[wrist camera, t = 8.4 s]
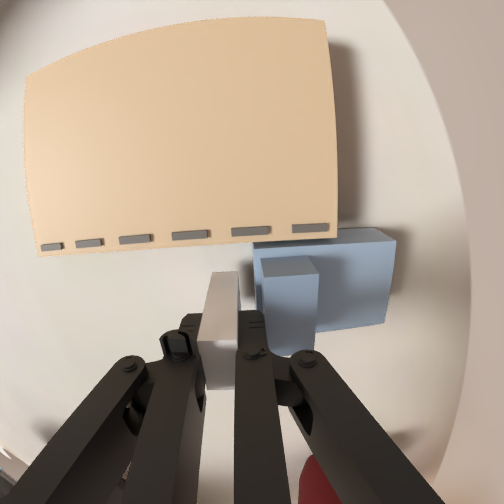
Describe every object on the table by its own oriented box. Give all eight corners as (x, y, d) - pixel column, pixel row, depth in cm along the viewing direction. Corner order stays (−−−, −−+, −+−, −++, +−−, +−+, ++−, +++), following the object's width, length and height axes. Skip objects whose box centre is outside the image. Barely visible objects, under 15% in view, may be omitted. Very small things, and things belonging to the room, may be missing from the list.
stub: (255, 311, 18) (260, 364, 13) (251, 233, 17) (256, 266, 12) (366, 301, 19) (400, 344, 14) (374, 227, 17) (419, 255, 12)
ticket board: (62, 243, 17) (37, 258, 14) (51, 83, 13) (24, 76, 10) (321, 224, 17) (337, 238, 14) (311, 40, 13) (325, 19, 10)
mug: (364, 423, 24) (392, 494, 15) (377, 446, 27) (399, 504, 17) (279, 457, 25) (287, 528, 16) (304, 475, 28) (315, 533, 18)
